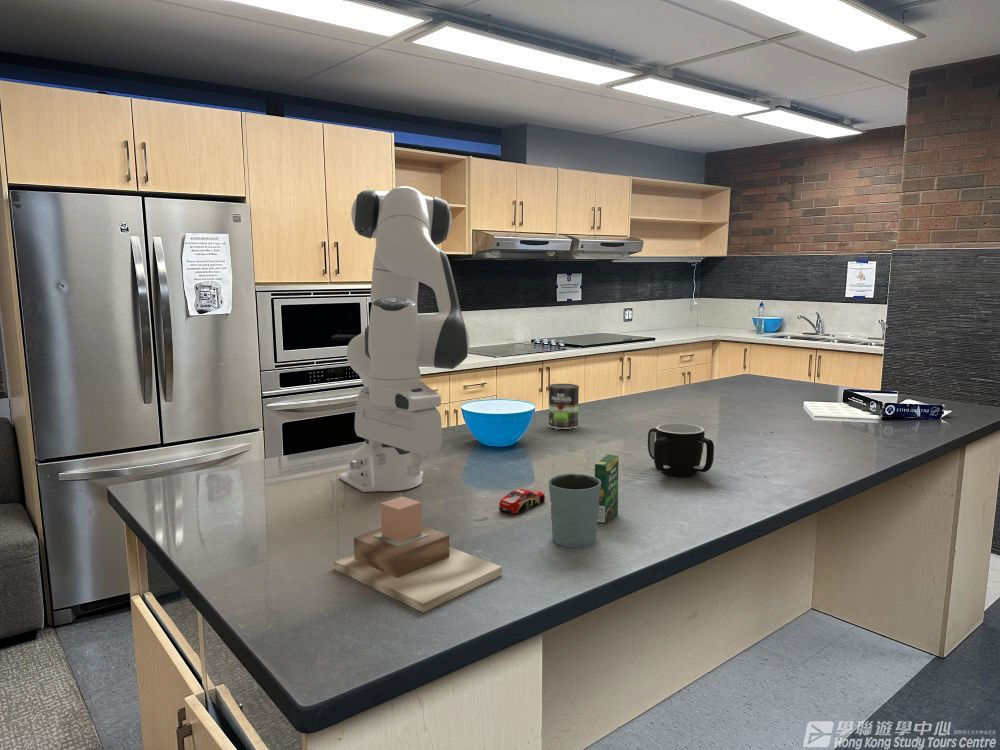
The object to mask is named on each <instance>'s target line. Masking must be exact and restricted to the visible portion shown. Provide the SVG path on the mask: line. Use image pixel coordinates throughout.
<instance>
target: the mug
mask: <svg viewBox="0 0 1000 750" xmlns="http://www.w3.org/2000/svg"><path fill="white" fill-rule="evenodd" d="M705 431H706V430H705V428H703V427H702V426H700V425H697V424H691V423H681V422H680V423H679V422H677V423H676V422H671V423H670V422H669V423H661V424H658V425H657V426H656V427H652V428H650V429H649V430H648V433H647V450H648V455H649V456H650V458H651V459H652V460H653V461H654V467H655V468H656V470H657V471H659V472H662V474H665V475H668V476H671V477H672V476H673V477H682V478H683V477H692V476H695V475H696V474H697V473H698V472H700V473H707V472H708V471H709V470H711V468H712V466H713V463H714V458H715V444H714V441H712V440H711V439H710V438H706V437H705ZM704 444H705V445H706V455H705V457H706V458H705V464H704V466H700V465H701V462H702V455H703V454H704V453H703V452H704Z"/></svg>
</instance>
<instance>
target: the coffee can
mask: <svg viewBox="0 0 1000 750" xmlns="http://www.w3.org/2000/svg"><path fill="white" fill-rule="evenodd" d="M579 391H580V385H578V384H573V383H552V384H549V385H548V428H550V427H551V428H550V429H552V428H555V429H554V430H559V429H570V430H572V429H571V428H576V427H578V428H579V401H580V400H579V396H580V394H579ZM576 429H577V428H576Z"/></svg>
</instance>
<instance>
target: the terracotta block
mask: <svg viewBox="0 0 1000 750" xmlns="http://www.w3.org/2000/svg"><path fill="white" fill-rule="evenodd" d="M421 504H422V503H421V501H419V500H414V499H412V498H409V497H406V496H399V497H396V498H393V499H390V500H387V501H383V502H381V503H380V518H381V519H380V521H381V522H380V523H381V525H380V526H381V527H380V528H382V536H384V537H387V538H389V539H392V540H394V541H397V542H399V543H400V542H403V541H406V540H408V539H411V538H414V537H417V536H419V535H422V532H421V525H422V505H421Z"/></svg>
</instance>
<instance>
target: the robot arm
mask: <svg viewBox="0 0 1000 750" xmlns="http://www.w3.org/2000/svg"><path fill="white" fill-rule="evenodd" d="M450 208H451V207H450V205H449V203H448V202H447V201H446V200H445V199H442V198H439V197H437V196H433V197H431V196H427V195H423V194H422V192H420V191H419V190H418V189H416V188H414V187H411V186H406V185H405V186H397V187H394V188H392V189H391V190H389V191H388V190H387V191H386V190H385V191H384V190H382V191H380V190H377V191H376V189H367V190H366V189H365V190H362V191H361V192H359V193H358V194H357V195H356V198H355V199H354V201H353V203H352V207H351V212H350V213H351V221H352V224H353V227H354V231H355V232H356V233H357V234H358V235H359V236H361V237H363V238H367V239H371V240H372V239H375V250H374V256H373V261H372V262H373V263H372V272H371V273H372V275H371V287H370V302H371V307H370V313H369V320H368V321H369V323H368V325H367V326H366V327H365V329H364V331H363V332H362V333H359V334H358V335H355V336H354V337H353V338H351V340H350V341H349V343H348V344H347V348H346V359H347V362H348V365H349V366H350V368H351V369H352V370H353V371H354V372H355V373H356V374H357V375H358V376H359V378H360V379H361V382H362V384H363V388H361V390H360V391H359V393H358V398H357V400H356V404H355V411H354V412H355V413H354V431H355V434H356V436H357V437H359V438H363V439H364V443H363V444H361V445H360V446H359V447H358V448H357V449H356V450H355V451H354V452H352V453H351V455H350V456H349V459H348V470H346V471H344V472H342V473H340V474H339V479H340V480H341V481H343V482H345V483H347V484H348V485H350V486H352V487H353V488H356V489H357V490H358V491H360V492H363V493H366V492H367V493H370V492H396V491H397V492H398V491H404V490H409V489H413V488H415V487H418V486H420V485H421V484H422V482H423V477H424V471H423V470H421V465H422V464H423V461H424V459H425V457H426V456H428V455H433V454H436V453H438V452H439V451H440V449H441V447H442V443H443V425H442V424H443V423H442V417H441V416H442V415H441V412H440V410H438V408H439V407H440V406H441V404H442V396H441V395H440V394H439V393H438V392H436V390H433V389H432V388H431V387H430V386H428V385H427V384H426V383H425V382H423V381H422V379H421V377H422V375H421V369H420V368H435V369H444V370H445V369H446V370H447V369H448V370H453V369H455V368H456V367H458V366H459V365H461V363H463V362H464V361H465V360H466V359H467V358H468V353H469V350H470V336H469V330H468V328H467V326H466V323H465V320H464V316H463V314H462V310H461V307H460V302H459V297H458V293H457V292H458V291H457V289H456V283H455V280H454V275H453V271H452V268H451V264H450V261H449V259H448V256H447V254H446V252H445V251H444V250H442V249H440V248H438V247H437V245H440V244H442V243H443V242H444V241H446V240H447V238H448V235H450V234H449V233H450V232H451V230H452V227H453V226H452V225H453V217H452V212H451V209H450ZM419 283H422V284H424V285H426V286H427V287H429V288H430V289H432V290H433V292H434V295H435V300H436V303H437V308H438V313H435V314H419V311H418V293H419Z"/></svg>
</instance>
